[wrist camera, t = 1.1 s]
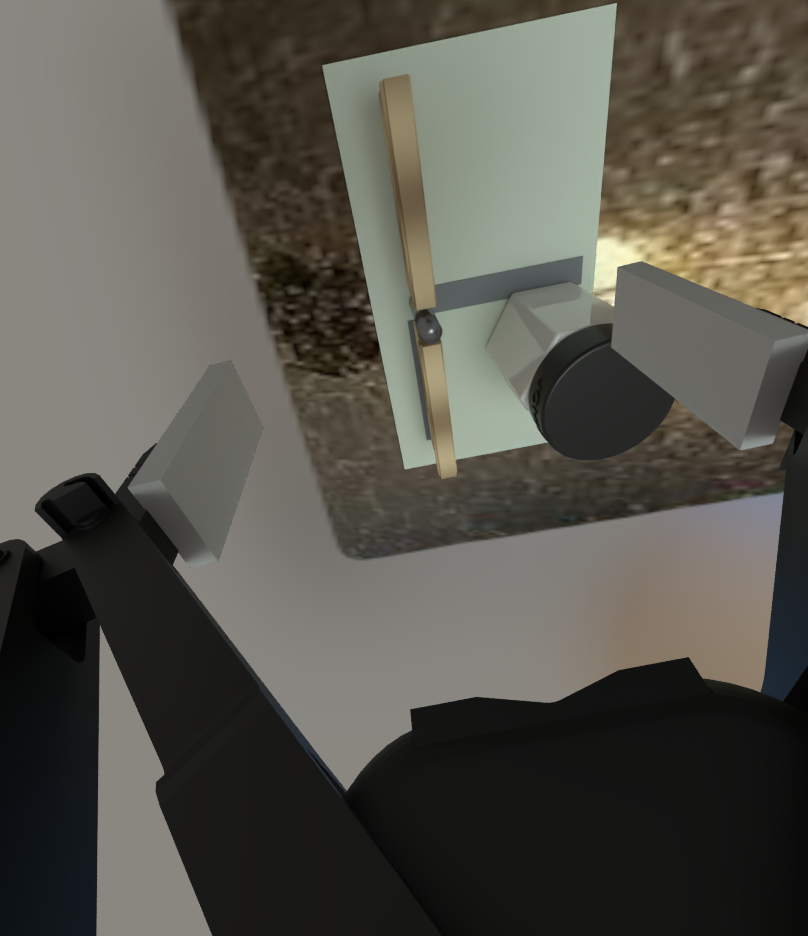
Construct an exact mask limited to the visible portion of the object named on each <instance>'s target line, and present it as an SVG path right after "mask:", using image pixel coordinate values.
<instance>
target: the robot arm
mask: <svg viewBox="0 0 808 936" xmlns="http://www.w3.org/2000/svg"><path fill="white" fill-rule="evenodd" d="M611 348H613V349H614V350H615V351H616V352H618V353H619V354H620V355H621V356H623V357H624V358H625V359H626V360H628V361H629V362H630V363H631V364H633V365H634V366H635V367H636V368H638V369H639V370H640V371H641V372H643V373H644V374H645V375H646V376H648V377H649V378H650V379H651V380H653V381H654V382H655V383H656V384H658V385H659V386H660V387H661V388H663V389H664V390H665V391H666V392H668V393H669V394H670V395H671V396H673V397H674V398H675V399H676V400H678V401H679V402H680V403H681V404H683V405H684V406H685V407H686V408H688V409H689V410H690V411H691V412H693V413H694V414H695V415H696V416H698V417H699V418H700V419H701V420H703V421H704V422H705V423H706V424H708V425H709V426H710V427H711V428H713V429H714V430H715V431H716V432H718V433H719V434H720V435H721V436H723V437H724V438H725V439H726V440H728V441H729V442H730V443H731V444H733V445H734V446H735V447H736V448H738V449H739V450H744V449H749V448H754V447H758V446H763V445H768V444H772V443H773V441H774V439H775V436H776V433H777V431H778V428H779V425H780V423H781V421H783V422H784V423H786V424H787V425H789V426H790V427H792V428H793V429H795V430H794V433H793V435H792V438H791V440H790V443H789V445H788V448H787V450H786V453H785V455H784V458H783V460H782V463H781V465H780V468H779V470H784V471H785V470H786V477H785V487H784V496H783V506H782V517H781V525H780V535H779V544H778V553H777V563H776V572H775V583H774V591H773V601H772V611H771V620H770V629H769V639H768V648H767V658H766V667H765V675H764V681H763V685H762V689H761V692H758V691H755V690H753V689H749V688H745V687H742V686H739V685H735V684H731V683H726V682H721V681H716V680H710V679H702V677H701V676H700V674H699V673H698V671H697V669H696V668H695V666H694V665H693V663H692V662H691V660H690V658H689V657H687V658H682V659H676V660H671V661H666V662H660V663H655V664H650V665H645V666H639V667H634V668H628V669H623V670H618V671H616V672H614V673H612V674H610V675H608V676H607V677H605V678H603V679H601V680H599V681H597V682H595V683H593V684H591V685H589V686H587V687H585V688H583V689H581V690H579V691H577V692H575V693H573V694H571V695H569V696H567V697H565V698H564V699H562V700H559V701H557V702H552V703H541V702H530V701H518V700H506V699H494V698H482V697H474V698H469V699H463V700H458V701H453V702H448V703H442V704H437V705H431V706H426V707H421V708H415V709H411V710H410V711H411V722H412V730H411V731H410V732H408V733H406V734H404V735H402V736H400V737H399V738H398V739H396V740H394V741H393V742H392V743H390V744H389V745H387V746H386V747H385V748H384V749H383V750H381V751H380V753H378V754H377V755H376V756H375V757H374V758H373V759H372V760H371V761H370V762H369V763H368V764H367V766H366V767H365V768H364V769H363V770H362V771H361V772H360V774H359V775H358V776H357V778H356V779H355V781H354V782H353V783H352V785H351V786H350V788H349V789H348V791H346V789H345V788H344V787H343V786H342V784H341V783H340V782H339V781H338V779H337V778H336V777H335V776H334V775H333V773H332V772H331V771H330V769H329V768H328V767H327V766H326V764H325V763H324V762H323V760H322V759H321V758H320V757H319V755H318V754H317V753H316V751H315V750H314V749H313V747H312V746H311V745H310V743H309V742H308V741H307V740H306V738H305V737H304V736H303V734H302V733H301V732H300V731H299V729H298V728H297V726H296V725H295V724H294V723H293V721H292V720H291V719H290V717H289V716H288V715H287V714H286V712H285V711H284V709H283V708H282V707H281V706H280V704H279V703H278V702H277V700H276V699H275V698H274V696H273V695H272V694H271V692H270V691H269V690H268V689H267V687H266V686H265V685H264V683H263V682H262V681H261V680H260V678H259V677H258V676H257V674H256V673H255V672H254V670H253V669H252V668H251V666H250V665H249V664H248V663H247V661H246V660H245V658H244V657H243V656H242V655H241V653H240V652H239V651H238V649H237V648H236V647H235V645H234V644H233V643H232V641H231V640H230V639H229V638H228V636H227V635H226V634H225V632H224V631H223V630H222V628H221V627H220V626H219V625H218V623H217V622H216V621H215V619H214V618H213V617H212V615H211V614H210V613H209V611H208V610H207V609H206V608H205V606H204V605H203V604H202V602H201V601H200V600H199V598H198V597H197V596H196V594H195V593H194V592H193V591H192V589H191V588H190V587H189V585H188V584H187V583H186V582H185V580H184V579H183V577H182V576H181V575H180V574H179V572H178V571H177V570H176V569H175V567H173V563H174V561H175V558H176V556H177V554H178V553H179V554H180V555H181V556H182V558H183V559H184V560H185V562H186V563H187V564H188V566H189V567H196V566H201V565H205V564H210V563H214V562H218V561H219V558H220V555H221V553H222V550H223V546H224V544H225V540H226V538H227V534H228V532H229V529H230V525H231V523H232V520H233V517H234V514H235V511H236V508H237V504H238V502H239V499H240V496H241V493H242V490H243V487H244V484H245V481H246V478H247V475H248V472H249V469H250V466H251V463H252V460H253V457H254V454H255V451H256V448H257V445H258V442H259V439H260V436H261V433H262V430H263V425H262V423H261V421H260V419H259V417H258V415H257V413H256V411H255V409H254V406H253V404H252V402H251V400H250V398H249V396H248V394H247V392H246V390H245V388H244V386H243V384H242V381H241V379H240V377H239V375H238V373H237V371H236V369H235V367H234V365H233V363H232V361H231V360H230V361H225V362H221V363H217V364H213V365H210V366H209V367H208V369H207V371H206V372H205V373H204V375H203V376H202V378H201V379H200V381H199V382H198V384H197V385H196V387H195V388H194V390H193V391H192V393H191V394H190V396H189V397H188V398H187V400H186V401H185V403H184V405H183V406H182V408H181V409H180V410H179V412H178V413H177V415H176V416H175V418H174V419H173V421H172V422H171V424H170V425H169V427H168V428H167V430H166V431H165V433H164V434H163V436H162V437H161V439H160V440H159V442H158V443H156V444H155V445H153V446H152V447H151V448H150V449H149V450H148V451H146V453H144V454H143V455H142V457H141V458H140V459H139V461H138V462H137V464H136V466H135V468H133V469H132V471H131V472H130V474H129V475H128V476H129V477H127V478H126V479H125V481H124V482H123V484H122V485H121V487H120V488H119V489H118V491H117V492H116V494H114V493H113V491H112V490H111V489H110V488H109V486H108V485H107V484H106V483H105V482H104V480H103V479H102V478H101V477H100V475H98V474H96V473H86V474H82V475H79V476H75V477H73V478H71V479H69V480H66V481H64V482H62V483H61V484H59V485H57V486H56V487H54V488H53V489H51V490H50V491H48V492H47V493H46V494H45V495H44V496H43V497H41V499H40V500H39V501H38V502H37V504H36V506H35V512H37V513H38V515H40V517H42V519H43V520H44V521H45V522H46V523H47V524H48V525H49V526H50V527H51V528H52V529H53V530H54V531H55V532H56V533H57V534H58V535H59V536H60V537H61V538H62V540H63V541H60V542H58V543H56V544H53V545H51V546H48V547H46V548H44V549H41V550H39V551H34V550H33V549H32V548H31V547H30V546H29V545H28V544H27V543H26V542H25V541H23V540H20V539H15V540H9V541H6V542H3V543H0V936H96V918H97V916H96V915H97V828H98V825H97V824H98V818H97V817H98V739H99V738H98V737H99V649H100V648H99V646H100V626H101V628H102V630H103V633H104V635H105V637H106V639H107V642H108V644H109V646H110V648H111V651H112V653H113V655H114V657H115V660H116V662H117V664H118V667H119V669H120V671H121V673H122V675H123V678H124V680H125V682H126V685H127V687H128V689H129V691H130V694H131V696H132V698H133V700H134V702H135V705H136V707H137V709H138V712H139V714H140V716H141V718H142V721H143V723H144V725H145V728H146V730H147V732H148V734H149V737H150V739H151V741H152V743H153V746H154V748H155V750H156V752H157V755H158V757H159V759H160V761H161V764H162V766H163V769H164V776H162V777H161V778H160V779H159V780H158V781H157V782H156V794H157V798H158V801H159V805H160V808H161V810H162V813H163V815H164V817H165V820H166V822H167V825H168V827H169V830H170V832H171V835H172V837H173V840H174V842H175V844H176V847H177V850H178V852H179V855H180V857H181V859H182V862H183V864H184V867H185V869H186V872H187V874H188V877H189V879H190V882H191V884H192V887H193V889H194V891H195V894H196V896H197V899H198V901H199V904H200V906H201V908H202V911H203V914H204V916H205V918H206V921H207V923H208V926H209V928H210V931H211V933H212V936H808V327H807V326H804V325H802V324H799V323H797V324H795V322H794V321H792V320H789V319H787V318H781V316H780V315H777V314H775V313H772V312H770V311H767V310H765V309H759V308H754V307H752V306H749V305H747V304H744V303H742V302H739V301H737V300H735V299H732V298H730V297H727V296H725V295H722V294H720V293H718V292H715V291H713V290H710V289H708V288H705V287H703V286H700V285H698V284H696V283H693V282H691V281H688V280H686V279H683V278H681V277H679V276H676V275H674V274H671V273H669V272H666V271H664V270H662V269H659V268H657V267H654V266H652V265H649V264H647V263H644V262H642V261H641V262H637V263H632V264H628V265H624V266H620V267H618V269H617V282H616V294H615V306H614V318H613V330H612V342H611Z"/></svg>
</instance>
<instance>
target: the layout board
mask: <svg viewBox="0 0 808 936" xmlns="http://www.w3.org/2000/svg"><path fill="white" fill-rule="evenodd" d="M616 6H617V3H615V4H610V5H605V6H601V7H596V8H591V9H586V10H582V11H577V12H572V13H568V14H563V15H558V16H553V17H549V18H544V19H539V20H534V21H530V22H525V23H520V24H515V25H511V26H506V27H501V28H496V29H492V30H487V31H482V32H477V33H473V34H468V35H463V36H459V37H454V38H449V39H444V40H440V41H435V42H430V43H425V44H421V45H416V46H411V47H406V48H402V49H397V50H392V51H387V52H383V53H378V54H373V55H369V56H364V57H359V58H354V59H350V60H345V61H340V62H335V63H331V64H326V65H322V67H323V72H324V77H325V82H326V87H327V92H328V96H329V101H330V106H331V111H332V116H333V121H334V126H335V131H336V136H337V140H338V145H339V150H340V155H341V160H342V165H343V170H344V175H345V179H346V184H347V189H348V194H349V199H350V204H351V209H352V214H353V219H354V223H355V228H356V233H357V238H358V243H359V248H360V253H361V258H362V263H363V267H364V272H365V277H366V282H367V287H368V292H369V297H370V302H371V307H372V311H373V316H374V321H375V326H376V331H377V336H378V341H379V346H380V350H381V355H382V360H383V365H384V370H385V375H386V380H387V385H388V390H389V394H390V399H391V404H392V409H393V414H394V419H395V424H396V429H397V434H398V438H399V443H400V448H401V453H402V458H403V463H404V468H405V469H409V468H414V467H420V466H425V465H430V464H435V463H436V458H435V453H434V449H433V445H432V442H431V435H430V429H429V422H428V416H427V409H426V402H425V396H424V389H423V383H422V376H421V370H420V363H419V357H418V350H417V344H416V337H415V331H414V324H413V321H415V320H414V317H413V315H412V312H411V309H410V307H409V299H410V297H411V295H410V292H409V290H408V285H407V279H406V272H405V266H404V259H403V252H402V246H401V239H400V233H399V226H398V220H397V213H396V207H395V200H394V194H393V187H392V181H391V174H390V168H389V161H388V155H387V148H386V142H385V135H384V129H383V122H382V116H381V109H380V102H379V96H378V94H379V91H380V86H379V82H380V81H383V79H386V78H391V77H395V76H400V75H405V74H408V75H410V80H411V88H412V96H413V105H414V113H415V122H416V130H417V139H418V147H419V155H420V164H421V172H422V181H423V189H424V198H425V206H426V215H427V223H428V231H429V240H430V248H431V257H432V265H433V274H434V282H435V290H436V299H437V304H436V307H433V308H432V310H433V312H434V314H435V316H436V318H437V320H438V322H439V323H440V325H441V327H442V336H441V338H440V339H441V341H442V349H443V358H444V366H445V375H446V383H447V392H448V400H449V409H450V417H451V425H452V434H453V442H454V451H455V459H456V460H457V459H462V458H467V457H472V456H478V455H483V454H488V453H494V452H499V451H504V450H509V449H515V448H520V447H525V446H531V445H536V444H541V443H546V442H548V441H546V440H545V439H544V437H543V436H542V435H541V433H540V432H539V430H538V429H537V427H536V424H535V422H534V420H533V418H532V416H531V414H530V412H529V411H527V410H526V409H525V408H524V406H523V405H522V404H521V402H520V401H519V400H518V398H517V397H516V395H515V394H514V393H513V391H512V390H511V388H510V387H509V385H508V383H507V382H506V380H505V377H504V375H503V374H502V372H501V371H500V369H499V368H498V366H497V365H496V363H495V362H494V360H493V359H492V357H491V356H490V354H489V353H488V351H487V350H486V346H487V344H488V342H489V340H490V338H491V336H492V334H493V332H494V330H495V328H496V326H497V323H498V321H499V319H500V317H501V315H502V313H503V311H504V309H505V307H506V305H507V303H508V301H509V298H510V296H511V295H512V294H513V293H516V292H521V291H526V290H530V289H535V288H540V287H545V286H550V285H555V284H560V283H565V282H572V283H574V284H576V285H578V286H579V287H581V288H583V289H584V290H586V291H588V292H590V293H591V294H593V284H594V272H595V260H596V247H597V235H598V223H599V211H600V199H601V187H602V175H603V163H604V151H605V139H606V127H607V115H608V103H609V91H610V79H611V67H612V55H613V43H614V31H615V19H616Z"/></svg>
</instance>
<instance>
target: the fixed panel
mask: <svg viewBox="0 0 808 936" xmlns="http://www.w3.org/2000/svg"><path fill="white" fill-rule="evenodd" d="M413 324H414V331H415V337H416V344H417V350H418V357H419V363H420V370H421V376H422V383H423V389H424V396H425V402H426V409H427V416H428V422H429V429H430V435H431V442H432V445H433V449H434V453H435V458H436V464H437V471H438V474H439V476H440V475H441V478H442V479H444V478H450V477H455V476H456V472H457V468H456V459H455V451H454V442H453V434H452V425H451V417H450V409H449V400H448V392H447V383H446V375H445V366H444V358H443V349H442V341H441V339H439V340H438V341H437V342H436V343H432V344H429V343H426V342H424V341H423V340H422V339H421V336H420V334H419V331H418V328H417V326H416V323H415V321H413Z"/></svg>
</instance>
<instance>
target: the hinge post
mask: <svg viewBox="0 0 808 936" xmlns="http://www.w3.org/2000/svg"><path fill="white" fill-rule="evenodd" d="M409 307H410V309H411V312H412V315H413V317H414V320H415V323H416V326H417V328H418V331H419V334H420V336H421V339H422V340H423V341H424V342H426V343H429V344H432V343H436V342H437V341H438V340H439V339H440V338H441V336H442V327H441V325H440V323H439V322H438V320H437V318H436V316H435V314H434V312H433V310H432V308H428V309H423V310H418V311H417V309H414V308H413V305H412V299H411V297H410V299H409Z"/></svg>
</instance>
